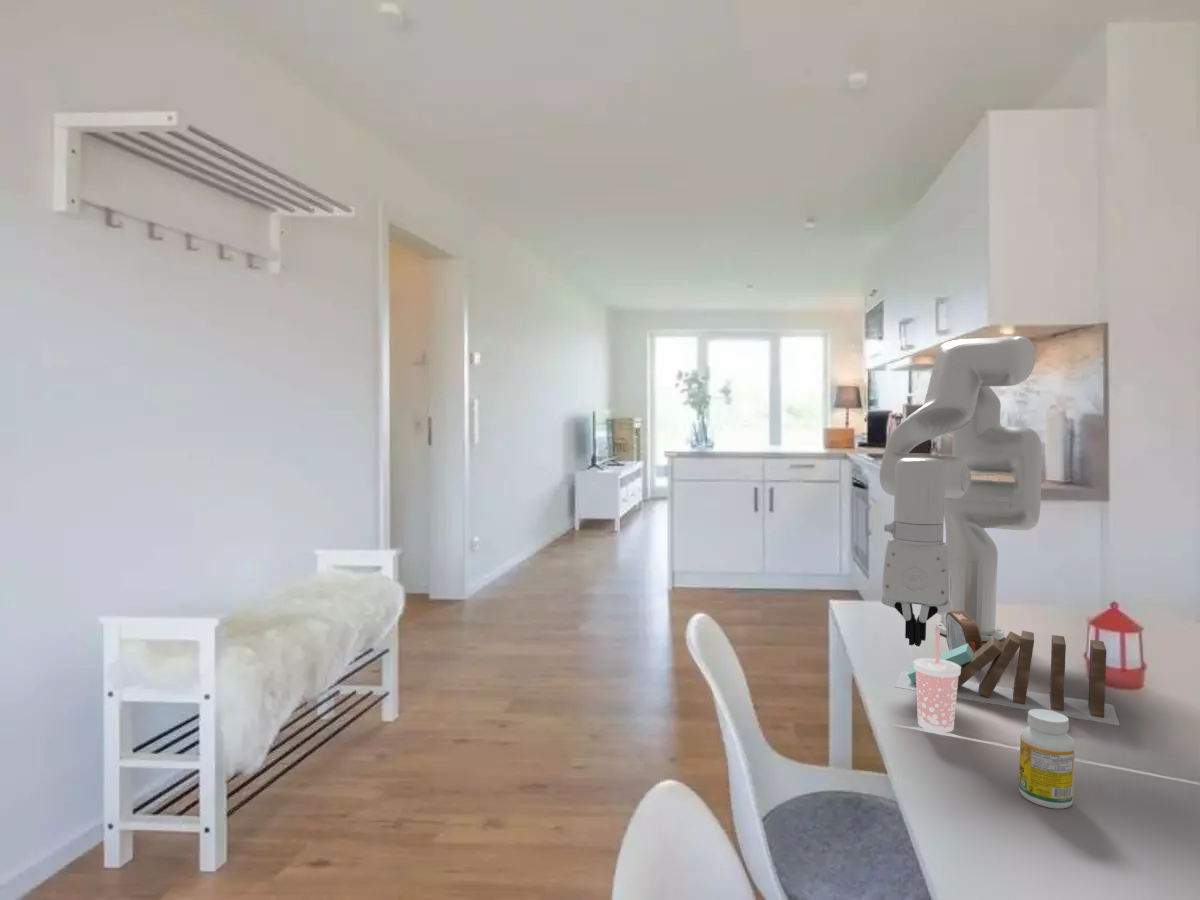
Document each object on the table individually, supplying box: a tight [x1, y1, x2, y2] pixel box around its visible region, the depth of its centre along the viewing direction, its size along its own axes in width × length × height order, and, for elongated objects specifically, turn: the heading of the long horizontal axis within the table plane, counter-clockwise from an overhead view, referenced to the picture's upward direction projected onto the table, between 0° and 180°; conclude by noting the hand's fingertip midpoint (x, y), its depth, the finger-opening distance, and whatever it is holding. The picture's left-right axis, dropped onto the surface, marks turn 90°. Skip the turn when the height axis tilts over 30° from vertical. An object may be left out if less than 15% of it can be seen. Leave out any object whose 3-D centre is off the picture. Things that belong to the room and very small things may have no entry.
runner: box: [894, 670, 1120, 726], centre depth 117 cm, size 30×9×1 cm, turn 61°
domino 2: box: [957, 637, 1003, 689], centre depth 119 cm, size 2×5×10 cm
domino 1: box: [908, 644, 973, 684], centre depth 122 cm, size 2×5×10 cm
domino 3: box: [978, 630, 1021, 698], centre depth 117 cm, size 2×5×10 cm, turn 151°
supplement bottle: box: [1018, 709, 1076, 810], centre depth 85 cm, size 5×5×10 cm
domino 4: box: [1013, 630, 1035, 705], centre depth 116 cm, size 2×5×10 cm, turn 150°
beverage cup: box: [913, 629, 961, 735], centre depth 105 cm, size 6×6×14 cm
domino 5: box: [1049, 634, 1067, 711], centre depth 113 cm, size 2×5×10 cm, turn 151°
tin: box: [945, 610, 983, 654], centre depth 135 cm, size 15×3×8 cm, turn 168°
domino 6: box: [1087, 639, 1107, 718], centre depth 111 cm, size 2×5×10 cm, turn 151°
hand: (915, 643), depth 123 cm, fingers closed
